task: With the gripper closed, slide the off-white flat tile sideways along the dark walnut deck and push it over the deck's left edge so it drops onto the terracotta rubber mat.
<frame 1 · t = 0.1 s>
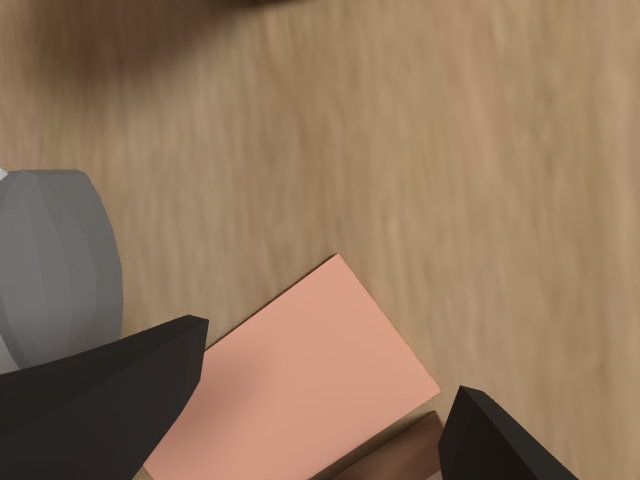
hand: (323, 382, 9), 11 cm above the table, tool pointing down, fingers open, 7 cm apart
mat: (269, 403, 20), on the table
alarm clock: (49, 273, 21), on the table
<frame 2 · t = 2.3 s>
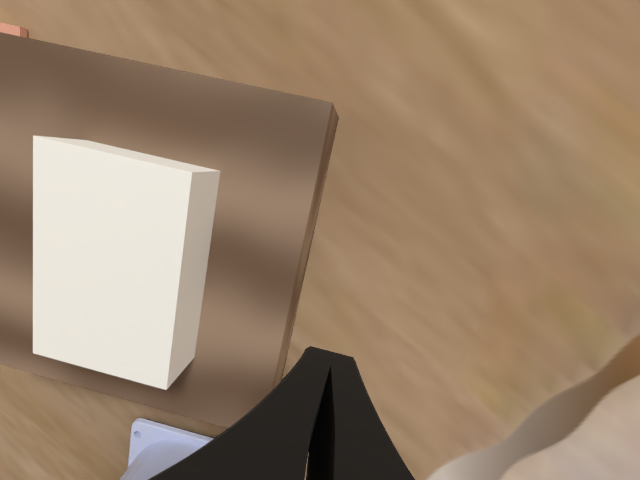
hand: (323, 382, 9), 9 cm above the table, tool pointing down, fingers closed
tile: (143, 255, 15), point 4 cm above the table, touching deck
deck: (171, 232, 19), on the table
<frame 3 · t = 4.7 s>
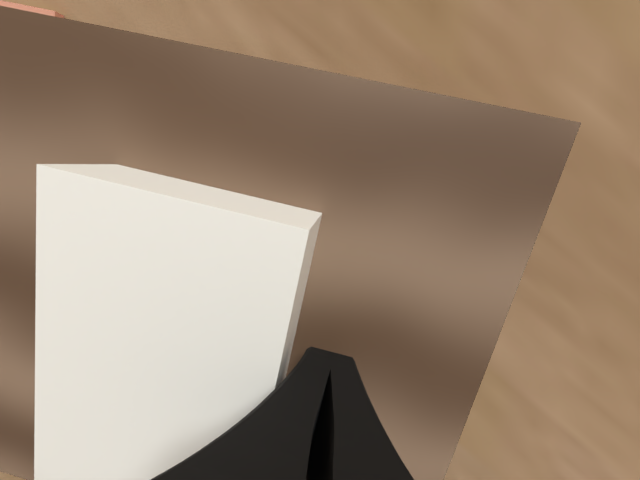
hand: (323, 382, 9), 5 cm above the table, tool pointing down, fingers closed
tile: (197, 330, 10), point 4 cm above the table, touching deck
deck: (254, 289, 14), on the table
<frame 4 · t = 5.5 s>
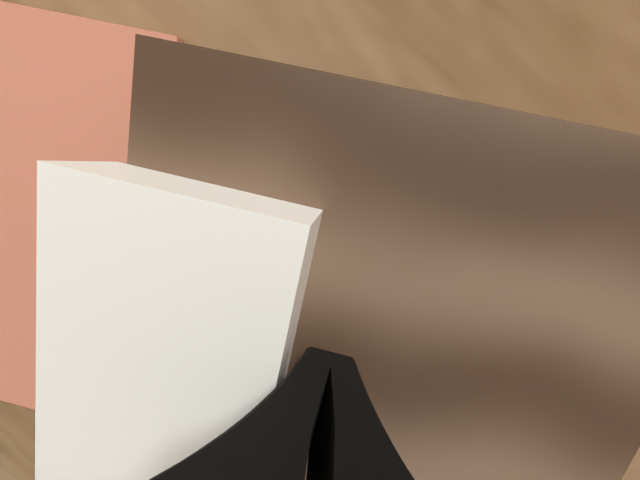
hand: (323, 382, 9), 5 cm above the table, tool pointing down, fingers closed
mat: (55, 240, 15), on the table
tile: (197, 328, 10), point 4 cm above the table, touching deck, gripper
deck: (363, 316, 14), on the table
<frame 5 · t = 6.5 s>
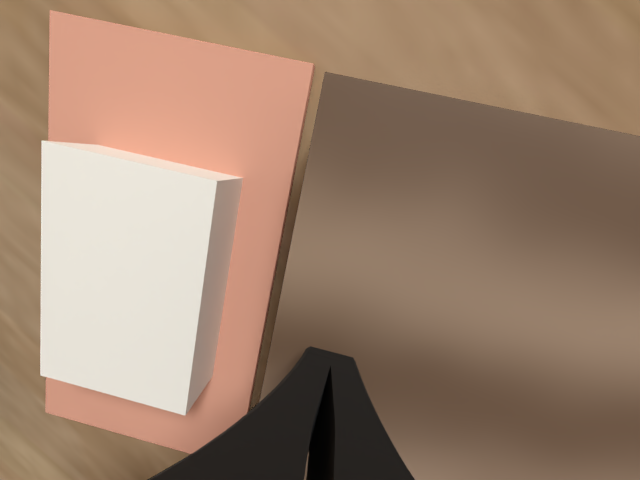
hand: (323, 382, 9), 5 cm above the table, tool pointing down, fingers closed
mat: (161, 266, 14), on the table
tile: (119, 288, 12), point 3 cm above the table, tilted 180°, touching mat
deck: (483, 346, 13), on the table
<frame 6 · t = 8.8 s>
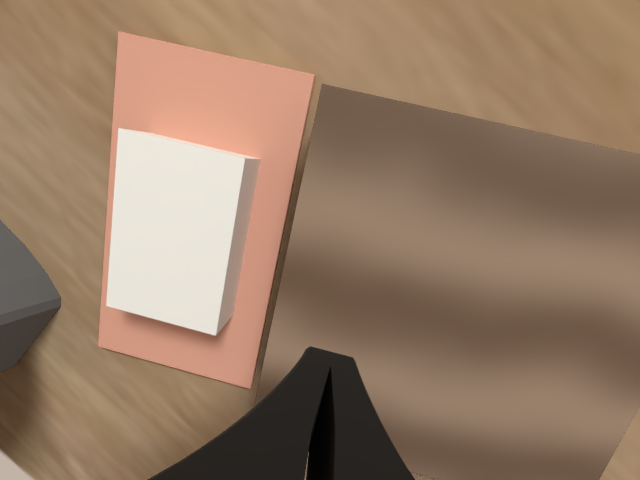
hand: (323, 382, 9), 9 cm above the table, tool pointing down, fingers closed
mat: (194, 227, 19), on the table
tile: (169, 238, 16), point 3 cm above the table, tilted 180°, touching mat
deck: (440, 290, 18), on the table
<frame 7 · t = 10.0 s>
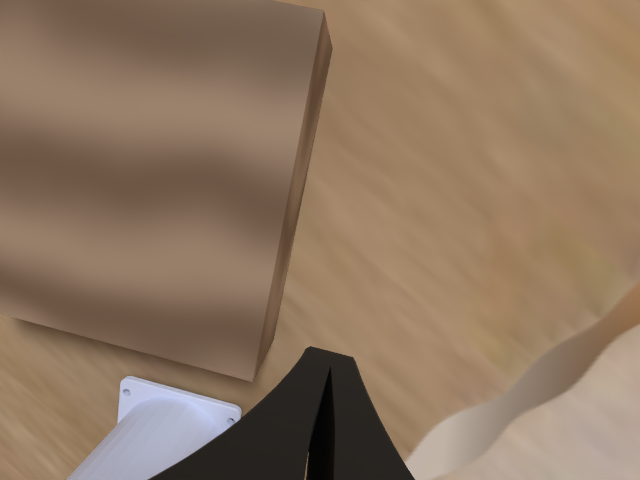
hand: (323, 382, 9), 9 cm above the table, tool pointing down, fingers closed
deck: (160, 176, 18), on the table
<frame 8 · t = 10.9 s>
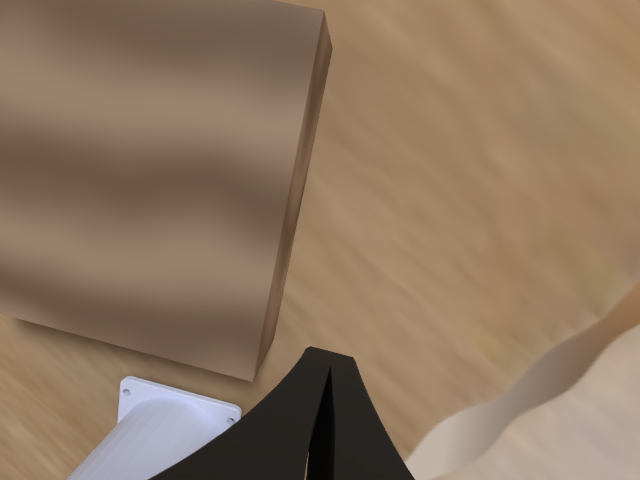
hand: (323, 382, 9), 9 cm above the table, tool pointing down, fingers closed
deck: (160, 176, 18), on the table
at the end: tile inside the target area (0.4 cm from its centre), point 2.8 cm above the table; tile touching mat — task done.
